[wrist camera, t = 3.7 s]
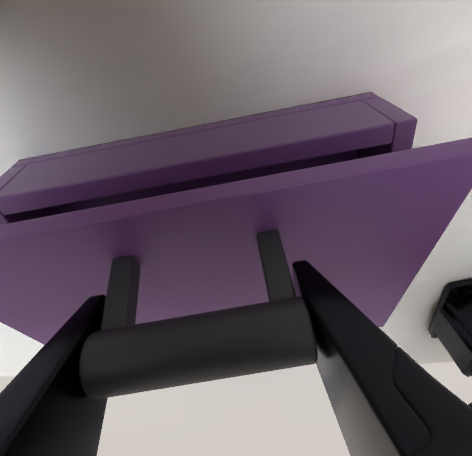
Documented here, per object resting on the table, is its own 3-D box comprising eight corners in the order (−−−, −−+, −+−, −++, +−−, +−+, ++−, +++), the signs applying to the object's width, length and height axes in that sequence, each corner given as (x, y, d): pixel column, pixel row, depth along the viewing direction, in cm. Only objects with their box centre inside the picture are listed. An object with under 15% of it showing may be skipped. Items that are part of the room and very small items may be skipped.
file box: (18, 159, 14) (-31, 202, 11) (371, 91, 14) (418, 118, 11) (117, 311, 21) (102, 362, 18) (353, 270, 21) (378, 316, 18)
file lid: (-108, 243, 9) (-241, 425, 6) (484, 134, 8) (642, 279, 5) (101, 363, 18) (87, 453, 16) (379, 316, 18) (416, 402, 15)
